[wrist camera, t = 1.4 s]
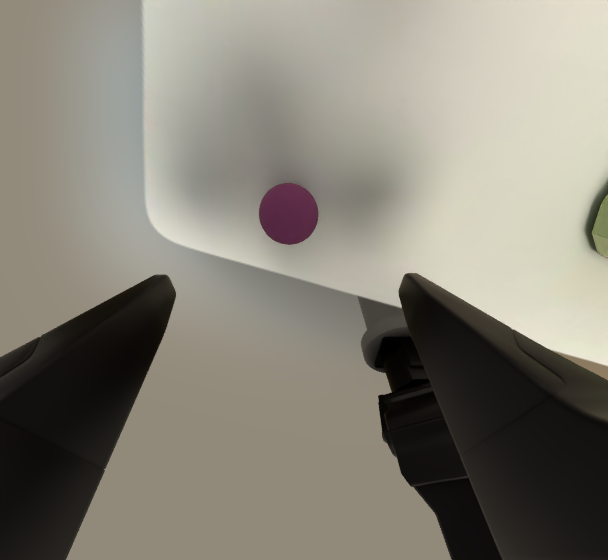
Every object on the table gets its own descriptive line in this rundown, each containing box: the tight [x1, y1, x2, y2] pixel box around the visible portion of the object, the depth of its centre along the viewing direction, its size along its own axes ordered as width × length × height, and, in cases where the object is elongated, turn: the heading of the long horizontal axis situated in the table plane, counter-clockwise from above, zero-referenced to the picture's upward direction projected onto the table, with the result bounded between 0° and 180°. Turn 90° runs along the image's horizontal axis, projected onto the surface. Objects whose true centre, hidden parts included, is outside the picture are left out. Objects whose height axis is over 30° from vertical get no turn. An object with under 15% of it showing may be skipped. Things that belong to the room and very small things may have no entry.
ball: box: [259, 183, 318, 245], centre depth 17 cm, size 4×4×4 cm
